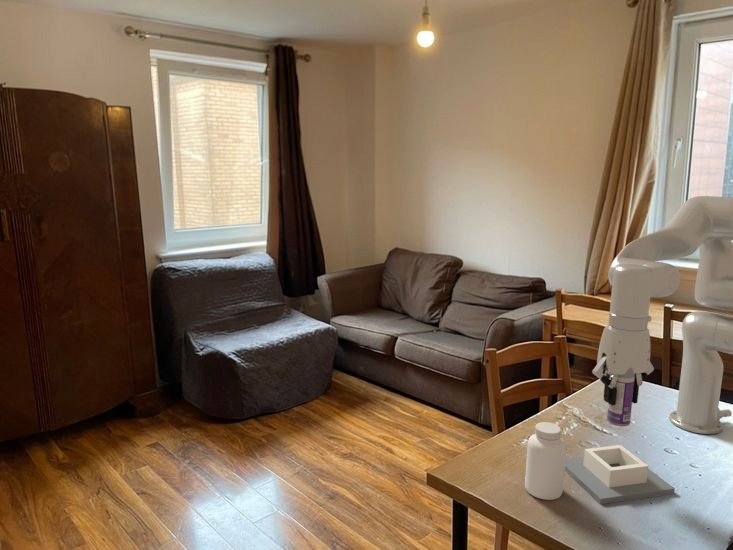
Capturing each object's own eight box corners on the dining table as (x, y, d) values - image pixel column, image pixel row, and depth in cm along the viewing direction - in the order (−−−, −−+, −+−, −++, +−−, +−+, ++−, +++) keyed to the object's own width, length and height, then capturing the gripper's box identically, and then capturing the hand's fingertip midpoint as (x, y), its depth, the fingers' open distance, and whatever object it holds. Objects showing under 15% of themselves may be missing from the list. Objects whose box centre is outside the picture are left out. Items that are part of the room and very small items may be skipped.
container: (625, 417, 123) (631, 354, 120) (633, 427, 119) (640, 361, 116) (603, 416, 124) (609, 353, 121) (610, 425, 119) (617, 360, 116)
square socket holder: (625, 456, 133) (627, 436, 132) (674, 493, 118) (676, 471, 117) (558, 464, 130) (560, 444, 129) (600, 504, 115) (601, 481, 114)
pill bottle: (558, 505, 114) (563, 439, 111) (520, 493, 118) (523, 429, 115) (566, 487, 121) (571, 424, 118) (530, 476, 125) (534, 415, 122)
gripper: (650, 315, 122) (642, 392, 126) (582, 319, 119) (575, 398, 122) (675, 324, 115) (666, 405, 118) (603, 329, 112) (596, 412, 115)
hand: (620, 401), depth 120 cm, fingers closed on container, 4 cm apart
